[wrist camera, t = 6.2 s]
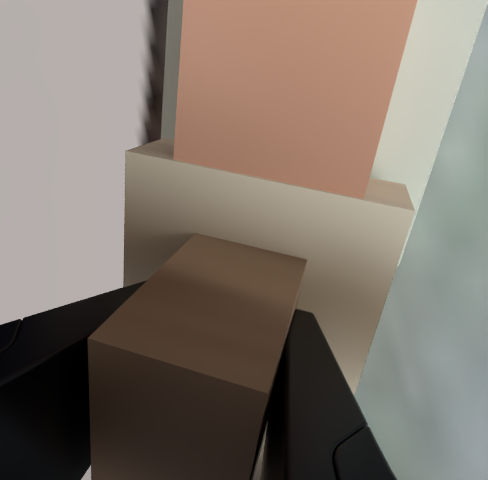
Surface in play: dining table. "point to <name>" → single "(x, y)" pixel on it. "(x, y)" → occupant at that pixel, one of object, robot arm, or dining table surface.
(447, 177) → the dining table surface
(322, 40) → the tile
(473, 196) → the dining table surface
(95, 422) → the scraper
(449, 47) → the deck
